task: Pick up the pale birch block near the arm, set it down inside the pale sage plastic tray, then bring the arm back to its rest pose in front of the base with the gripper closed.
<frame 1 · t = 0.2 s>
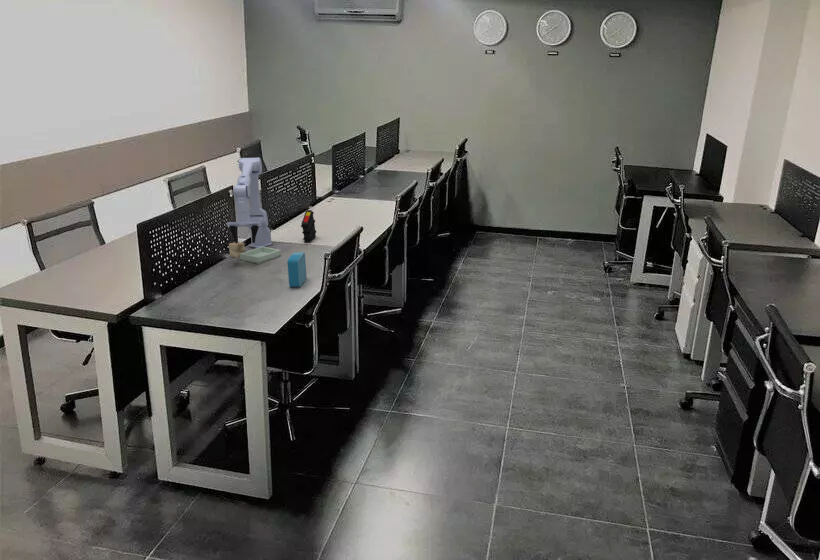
hand: (245, 242, 296), 10 cm above the table, tool pointing down, fingers open, 7 cm apart
black ridged block: (309, 241, 336), on the table
sage tray: (261, 258, 309), on the table
birch block: (237, 255, 313), on the table
data package: (298, 283, 276), on the table
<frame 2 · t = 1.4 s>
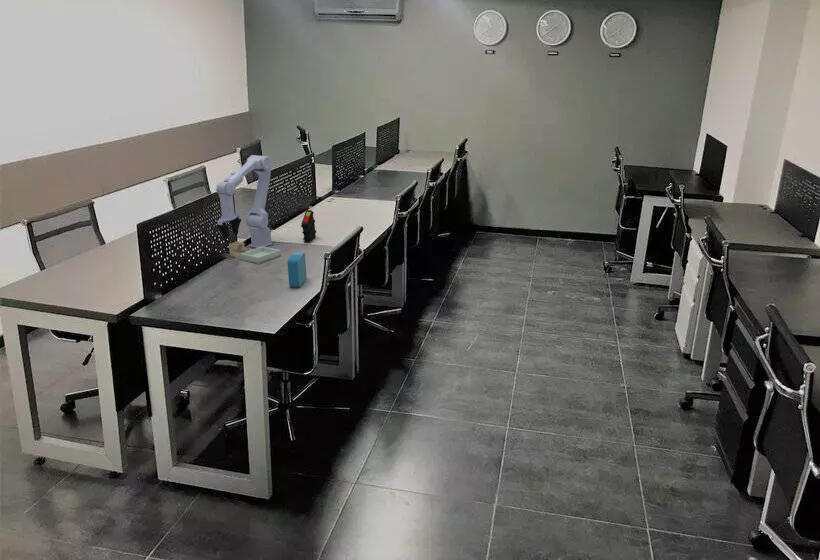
hand: (230, 236, 311), 9 cm above the table, tool pointing down, fingers open, 7 cm apart
nothing on the table moved.
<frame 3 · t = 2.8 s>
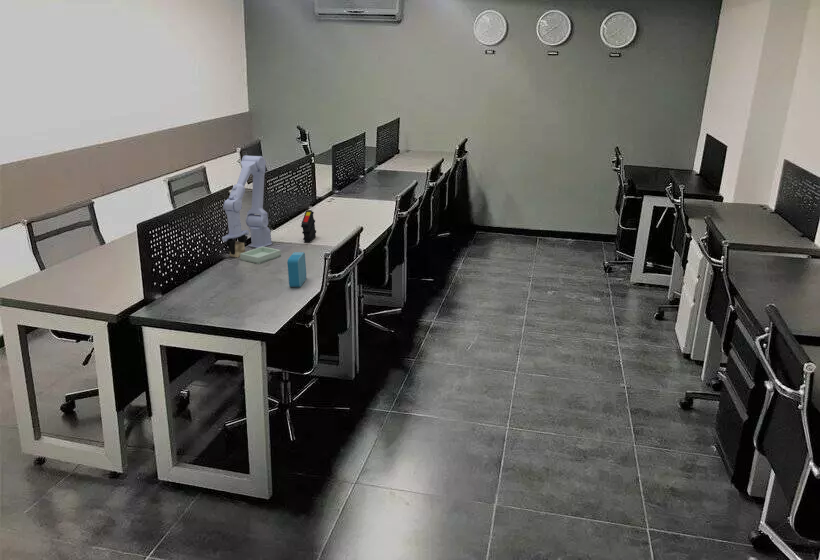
hand: (237, 252, 313), 1 cm above the table, tool pointing down, fingers closed on birch block, 5 cm apart
birch block: (237, 255, 313), on the table, touching gripper
everything else where it was.
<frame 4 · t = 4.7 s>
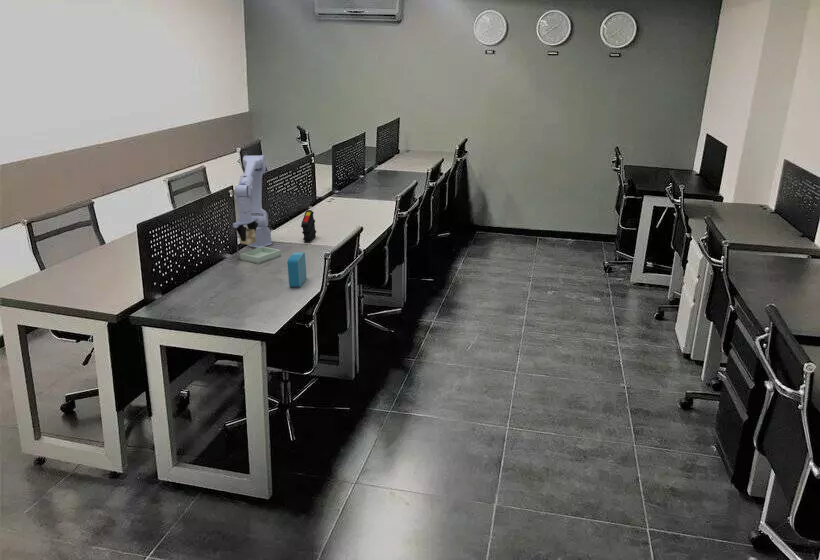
hand: (247, 239, 308), 8 cm above the table, tool pointing down, fingers closed on birch block, 5 cm apart
birch block: (247, 242, 309), point 7 cm above the table, touching gripper
everything else where it was.
when the fingers open (4 cm above the table, at t = 6.5 s): birch block drops 1 cm, resting on sage tray.
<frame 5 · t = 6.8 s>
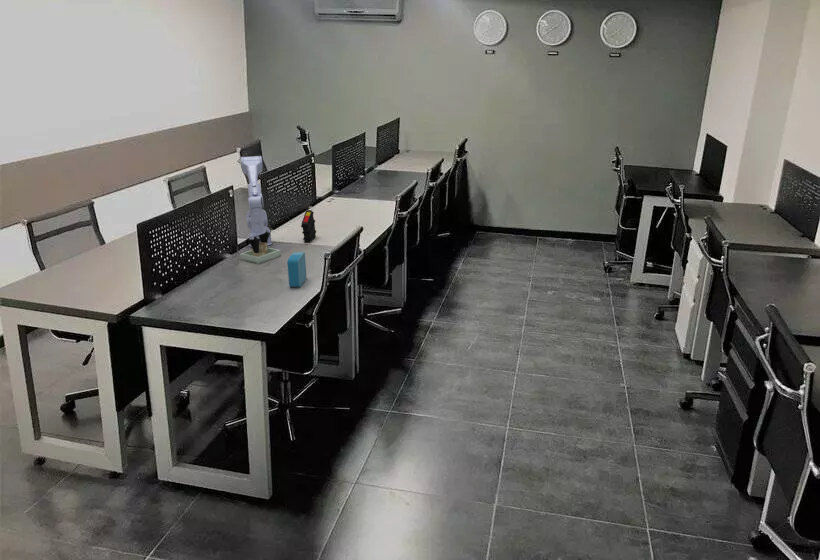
hand: (260, 250, 308), 4 cm above the table, tool pointing down, fingers open, 7 cm apart
birch block: (260, 256, 309), point 1 cm above the table, touching sage tray
everything else where it was.
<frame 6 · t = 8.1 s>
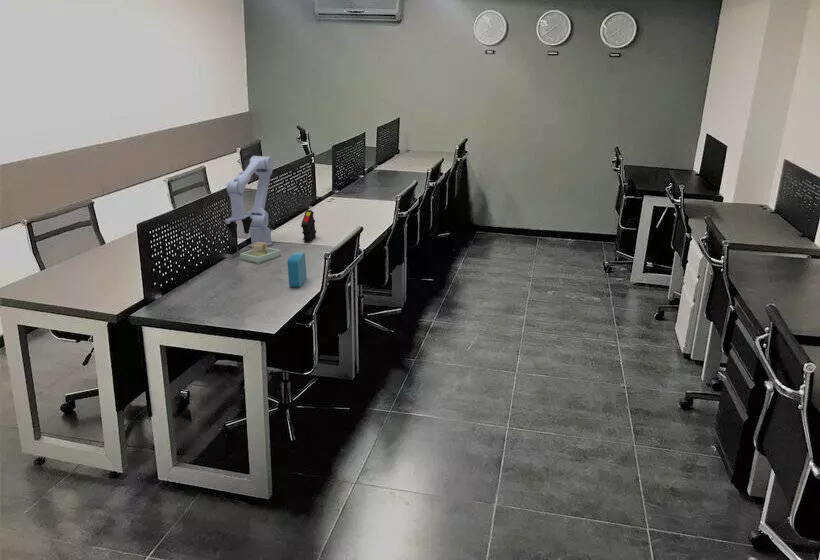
hand: (240, 235, 312), 9 cm above the table, tool pointing down, fingers open, 7 cm apart
nothing on the table moved.
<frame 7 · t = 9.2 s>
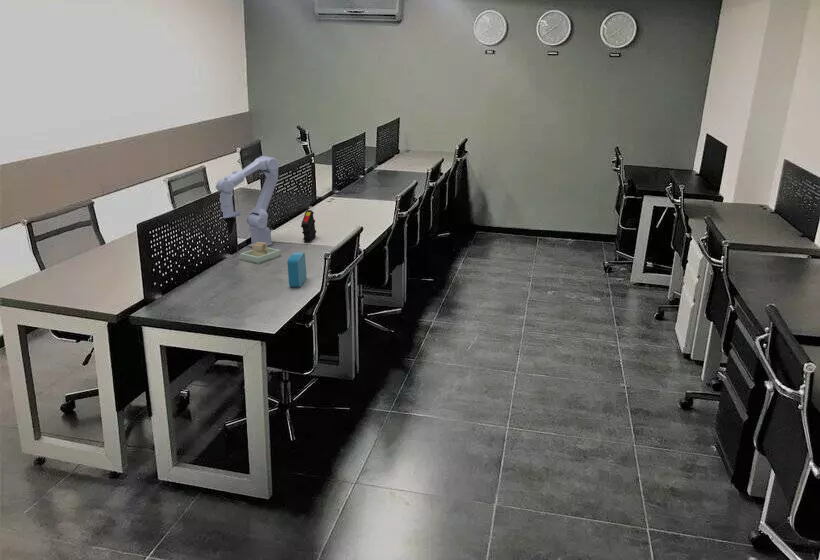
hand: (229, 233, 315), 9 cm above the table, tool pointing down, fingers closed
nothing on the table moved.
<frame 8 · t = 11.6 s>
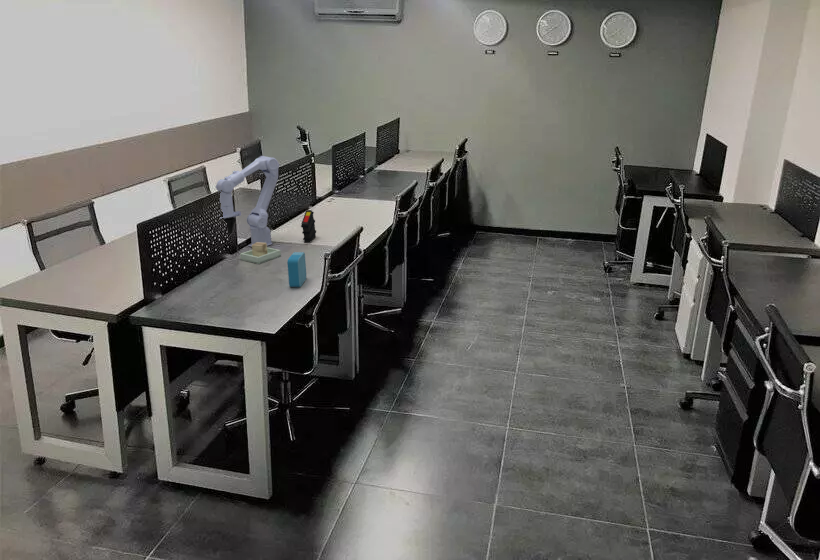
hand: (229, 233, 315), 9 cm above the table, tool pointing down, fingers closed
nothing on the table moved.
at the end: birch block inside the target area on the sage tray (0.3 cm from its centre), point 0.8 cm above the sage tray's base; birch block tilted 0°; the gripper is holding nothing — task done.
